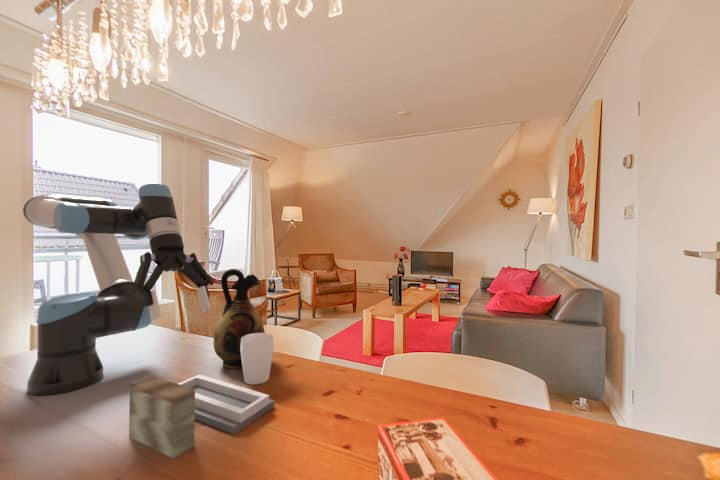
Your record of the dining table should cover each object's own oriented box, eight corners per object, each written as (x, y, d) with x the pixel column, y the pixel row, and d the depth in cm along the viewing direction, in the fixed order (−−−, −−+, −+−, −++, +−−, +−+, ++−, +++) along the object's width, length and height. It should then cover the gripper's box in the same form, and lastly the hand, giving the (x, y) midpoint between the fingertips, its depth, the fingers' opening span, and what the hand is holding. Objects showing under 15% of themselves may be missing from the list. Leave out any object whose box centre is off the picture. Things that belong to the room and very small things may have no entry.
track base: (160, 405, 75) (160, 391, 75) (204, 384, 86) (204, 372, 86) (233, 434, 65) (234, 417, 65) (273, 406, 75) (274, 392, 75)
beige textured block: (129, 437, 63) (129, 382, 63) (149, 426, 67) (150, 374, 67) (174, 459, 57) (175, 399, 57) (194, 446, 61) (194, 389, 61)
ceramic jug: (270, 354, 109) (271, 267, 109) (257, 373, 94) (258, 272, 93) (220, 354, 108) (221, 266, 108) (198, 373, 93) (200, 271, 93)
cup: (263, 388, 84) (264, 343, 84) (233, 385, 86) (233, 341, 86) (278, 374, 93) (279, 333, 93) (250, 371, 95) (251, 331, 95)
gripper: (122, 227, 72) (140, 317, 67) (213, 235, 95) (232, 303, 90) (104, 240, 75) (120, 328, 70) (197, 245, 97) (214, 311, 93)
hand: (183, 314), depth 80 cm, fingers open, 13 cm apart
